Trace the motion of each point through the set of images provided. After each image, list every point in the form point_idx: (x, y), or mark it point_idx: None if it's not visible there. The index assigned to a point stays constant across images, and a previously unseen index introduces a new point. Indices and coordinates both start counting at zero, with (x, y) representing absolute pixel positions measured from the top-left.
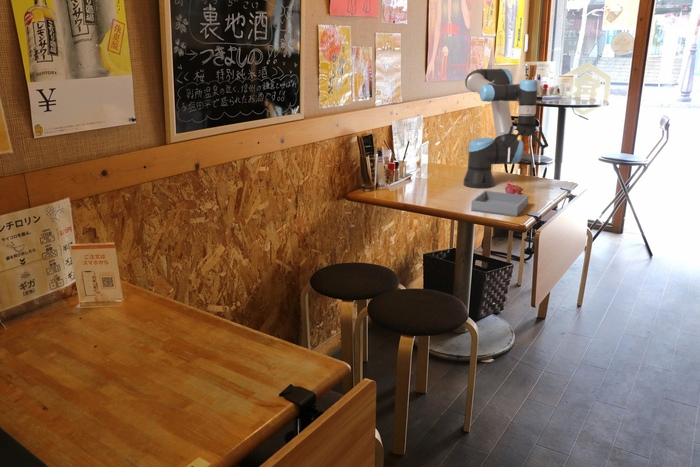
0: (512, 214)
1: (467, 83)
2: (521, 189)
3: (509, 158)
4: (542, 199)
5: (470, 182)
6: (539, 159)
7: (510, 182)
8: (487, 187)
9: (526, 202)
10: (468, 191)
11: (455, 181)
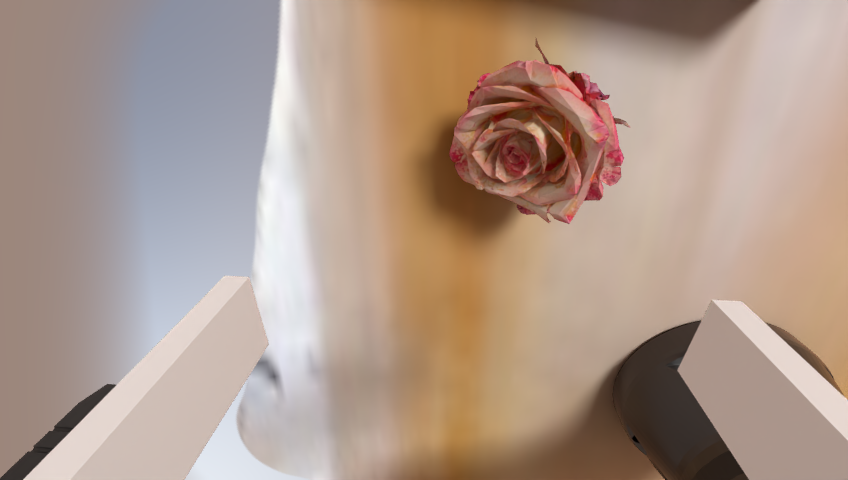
0: None
1: None
2: (468, 129)
3: (739, 365)
4: (331, 142)
5: (808, 352)
6: (205, 311)
7: (564, 212)
8: (665, 333)
9: None
10: (828, 234)
11: None
